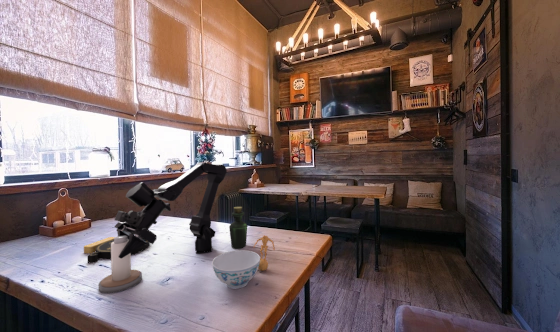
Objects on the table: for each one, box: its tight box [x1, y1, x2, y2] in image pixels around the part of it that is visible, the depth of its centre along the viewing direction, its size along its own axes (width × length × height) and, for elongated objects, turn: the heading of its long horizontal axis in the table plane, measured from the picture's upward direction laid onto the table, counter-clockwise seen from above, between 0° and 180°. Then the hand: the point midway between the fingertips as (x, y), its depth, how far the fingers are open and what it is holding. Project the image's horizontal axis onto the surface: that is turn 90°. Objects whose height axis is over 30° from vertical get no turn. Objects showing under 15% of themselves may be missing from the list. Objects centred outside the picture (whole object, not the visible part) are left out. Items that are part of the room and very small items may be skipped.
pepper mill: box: [110, 235, 132, 281], centre depth 75 cm, size 5×5×13 cm
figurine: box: [253, 234, 276, 272], centre depth 83 cm, size 8×6×12 cm
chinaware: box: [211, 249, 261, 290], centre depth 73 cm, size 15×15×8 cm
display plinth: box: [98, 269, 143, 294], centre depth 75 cm, size 12×12×2 cm
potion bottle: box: [229, 206, 248, 250], centre depth 105 cm, size 8×8×18 cm
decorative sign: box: [83, 236, 151, 264], centre depth 105 cm, size 29×3×25 cm
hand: (115, 255), depth 74 cm, fingers open, 6 cm apart
